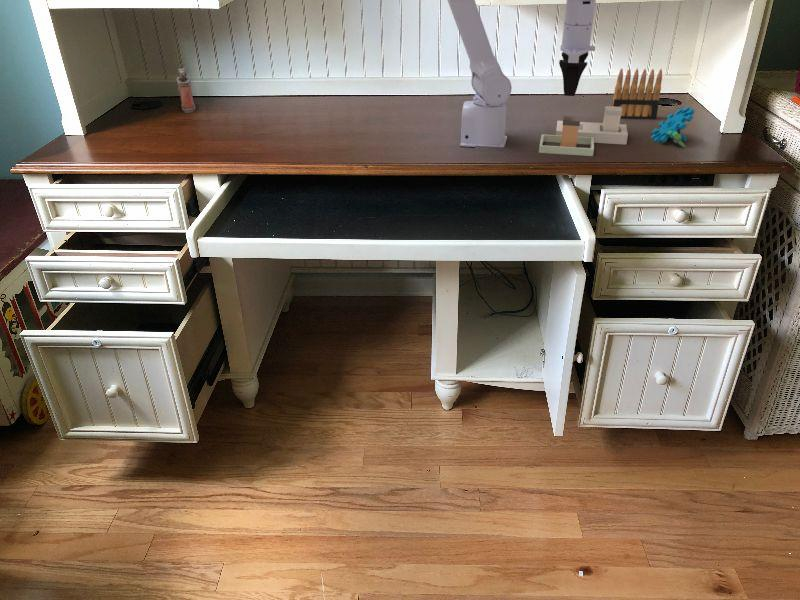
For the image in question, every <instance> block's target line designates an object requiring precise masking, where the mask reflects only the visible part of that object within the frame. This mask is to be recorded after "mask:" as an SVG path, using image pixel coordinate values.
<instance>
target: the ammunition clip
mask: <svg viewBox="0 0 800 600" xmlns="http://www.w3.org/2000/svg"><path fill="white" fill-rule="evenodd" d="M639 73H640V72H639V69H638V68H636V70H635V71H634V74H633V77H632V72H631V68H628V70H627V72H626V74H625V79H624V69H623V68H620V69H619V72H618V74H617V80H616V83H615V86H614V87H615V88H614V92H613V98H612V103H611V106H614V107H622V115H621V118H620V120H621V119H624V120H625V119H626V120H657V116H658V110H659V109H658V108H659V102H660V96H661V90H662V80H663V71H662V68H661V69H659V71H658V74H657V76H656V80H655V70H654V68H653V69H651V71H650V73H649V76H648V81H647V70H646V68H643V71H642V73H641V76H640V79H639ZM631 77H632V80H631ZM623 80H624V82H623ZM654 80H655V81H654ZM631 81H632V82H631ZM646 81H647V84H646ZM654 83H655V84H654Z"/></svg>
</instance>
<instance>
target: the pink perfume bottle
mask: <svg viewBox="0 0 800 600" xmlns="http://www.w3.org/2000/svg"><path fill="white" fill-rule="evenodd" d="M187 75H188V74H187V71H186V69H185V68H178V77H177V78H176V85H178V87H177V89H178V93H179V97H180V101H181V109H182V111H183V113H193V112H195V110H196V105H195V104H196V103H194V98H193V93H192V91H193V90H192V87H191V86H192V85H191V78H190V77H189V76H187Z"/></svg>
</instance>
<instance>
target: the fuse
mask: <svg viewBox="0 0 800 600" xmlns="http://www.w3.org/2000/svg"><path fill="white" fill-rule="evenodd" d="M621 115H622V107H620V106H619V107H614V106H612V105H608V106H607V105H606V106H604V114H603V121H602V123H603V127H602V131H607V132H618V130H619V124H621V123H620V122H621V119H620V118H621Z"/></svg>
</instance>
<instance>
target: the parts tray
mask: <svg viewBox="0 0 800 600" xmlns="http://www.w3.org/2000/svg"><path fill="white" fill-rule="evenodd" d="M561 137H562V135H556V134H545V133H544V134H541V136H540V141H539V147H538V153H539V154H552V155H553V154H556V155H566V156H567V155H569V156H570V155H571V156H585V157H593V156H594V152H595V143H594V137H579V136H578V137H577V144H576V145H578V144H579V145H589V147H577V146H576V147H561V145H545V144H544V142H546V143H557V144H558V143H559V144H561ZM543 144H544V145H543Z"/></svg>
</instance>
